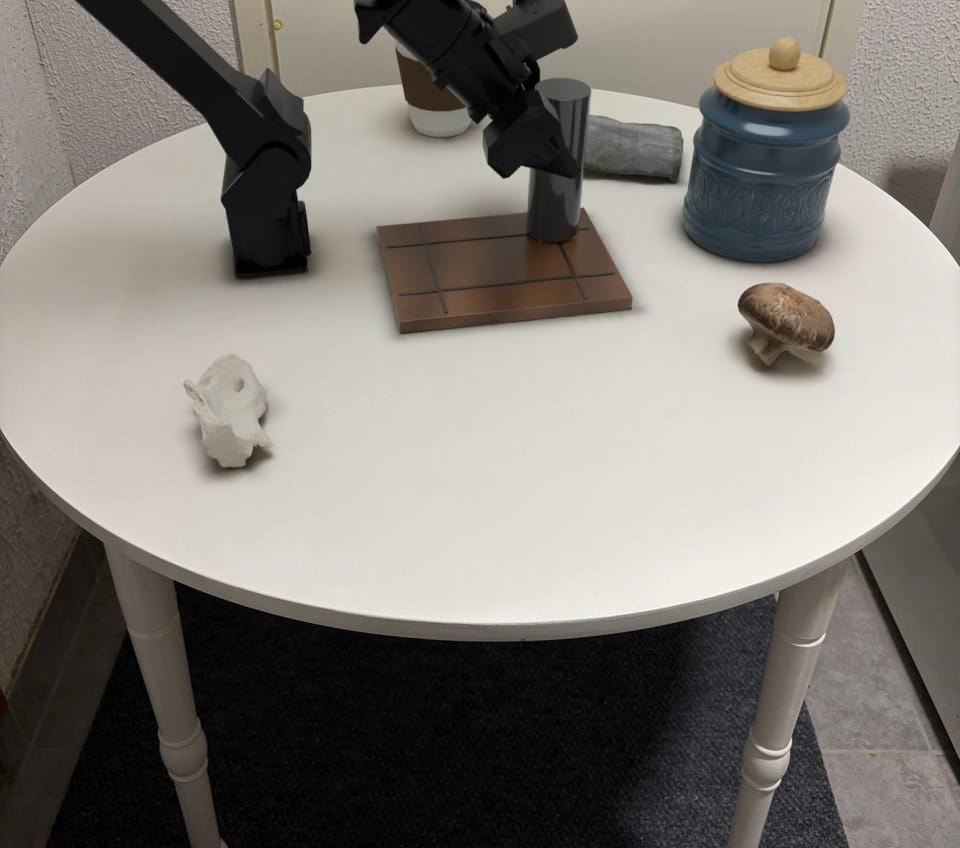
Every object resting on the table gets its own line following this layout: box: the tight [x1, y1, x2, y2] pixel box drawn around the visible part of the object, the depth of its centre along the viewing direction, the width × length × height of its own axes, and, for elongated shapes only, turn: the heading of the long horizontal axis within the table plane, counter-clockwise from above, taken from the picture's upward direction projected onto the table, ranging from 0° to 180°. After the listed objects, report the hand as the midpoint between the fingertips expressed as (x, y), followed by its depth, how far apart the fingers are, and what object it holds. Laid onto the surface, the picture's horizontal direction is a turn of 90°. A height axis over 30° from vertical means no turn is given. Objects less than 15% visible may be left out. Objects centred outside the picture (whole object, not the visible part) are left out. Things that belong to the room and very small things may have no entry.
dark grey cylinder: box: [526, 77, 592, 242], centre depth 92 cm, size 5×5×13 cm
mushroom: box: [737, 282, 836, 367], centre depth 84 cm, size 8×8×6 cm
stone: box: [584, 114, 685, 182], centre depth 109 cm, size 11×4×15 cm
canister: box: [682, 36, 851, 263], centre depth 93 cm, size 13×13×18 cm
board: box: [375, 207, 634, 334], centre depth 93 cm, size 20×16×1 cm
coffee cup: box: [387, 0, 488, 138], centre depth 112 cm, size 11×11×12 cm
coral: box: [182, 352, 274, 469], centre depth 76 cm, size 6×10×4 cm, turn 17°
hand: (572, 161), depth 92 cm, fingers closed on dark grey cylinder, 5 cm apart
